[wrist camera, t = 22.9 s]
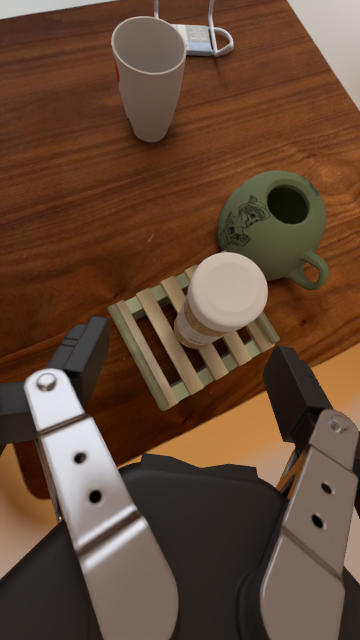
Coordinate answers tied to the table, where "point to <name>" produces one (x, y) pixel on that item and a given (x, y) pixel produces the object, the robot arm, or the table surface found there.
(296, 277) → the olive green ceramic pot
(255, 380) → the table surface
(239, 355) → the drying rack
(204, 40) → the wall mount rack
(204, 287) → the sprinkles bottle
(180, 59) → the cup
